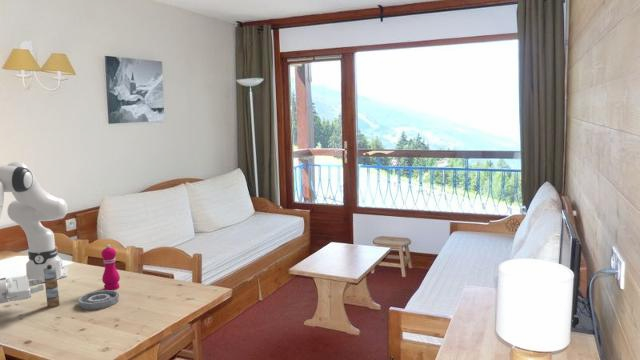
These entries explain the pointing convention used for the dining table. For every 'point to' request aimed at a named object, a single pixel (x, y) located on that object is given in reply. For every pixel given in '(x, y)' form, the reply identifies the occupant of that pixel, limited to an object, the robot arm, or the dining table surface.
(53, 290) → the bead column
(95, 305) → the tray
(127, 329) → the dining table surface
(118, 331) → the dining table surface
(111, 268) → the pepper mill
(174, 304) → the dining table surface
